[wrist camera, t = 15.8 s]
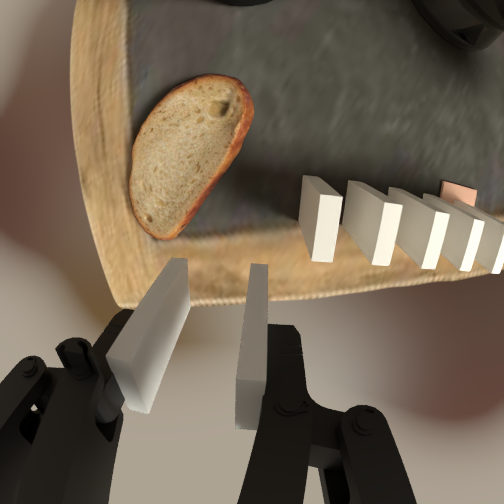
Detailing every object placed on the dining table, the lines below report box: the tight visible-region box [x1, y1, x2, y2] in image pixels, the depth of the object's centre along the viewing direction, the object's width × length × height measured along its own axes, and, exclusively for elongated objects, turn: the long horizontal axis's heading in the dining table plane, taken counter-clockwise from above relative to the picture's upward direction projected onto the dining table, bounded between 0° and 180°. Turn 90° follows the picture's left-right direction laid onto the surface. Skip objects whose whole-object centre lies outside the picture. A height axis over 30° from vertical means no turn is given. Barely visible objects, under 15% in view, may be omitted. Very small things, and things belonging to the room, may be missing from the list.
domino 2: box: [342, 180, 403, 266], centre depth 26 cm, size 2×6×11 cm, turn 177°
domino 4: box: [423, 193, 485, 271], centre depth 26 cm, size 2×6×11 cm, turn 177°
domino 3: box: [388, 187, 450, 269], centre depth 26 cm, size 2×6×11 cm, turn 177°
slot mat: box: [439, 181, 477, 207], centre depth 30 cm, size 7×10×1 cm
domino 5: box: [453, 199, 504, 274], centre depth 25 cm, size 2×6×11 cm, turn 177°
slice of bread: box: [129, 74, 254, 240], centre depth 29 cm, size 18×18×4 cm
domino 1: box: [298, 175, 343, 262], centre depth 26 cm, size 2×6×11 cm, turn 177°
